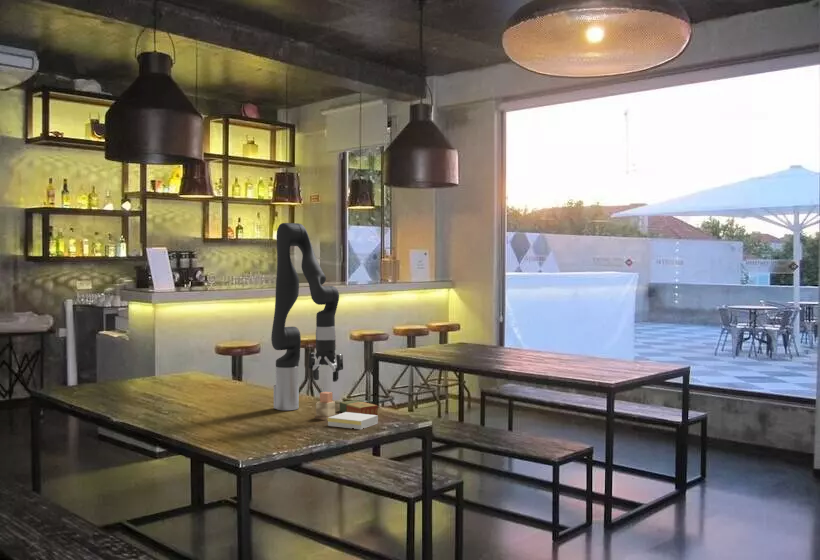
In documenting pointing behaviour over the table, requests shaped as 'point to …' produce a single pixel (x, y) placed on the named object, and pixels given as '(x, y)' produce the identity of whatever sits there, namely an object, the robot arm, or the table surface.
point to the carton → (358, 407)
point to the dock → (353, 420)
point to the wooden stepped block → (325, 410)
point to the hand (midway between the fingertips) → (325, 380)
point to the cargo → (326, 397)
